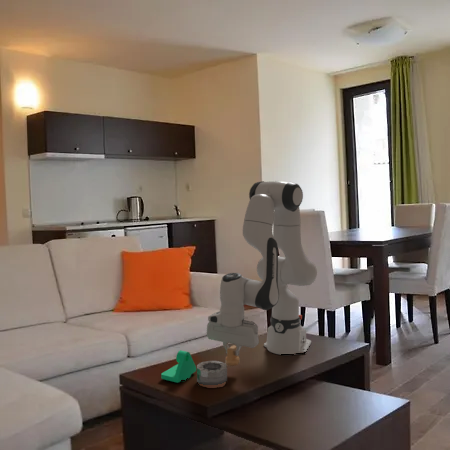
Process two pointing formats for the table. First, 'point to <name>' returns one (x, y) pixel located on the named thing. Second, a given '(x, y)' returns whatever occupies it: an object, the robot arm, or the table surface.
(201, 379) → the knurled grey ring
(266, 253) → the robot arm
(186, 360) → the camera mount
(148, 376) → the table surface
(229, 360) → the orange stepped plug
